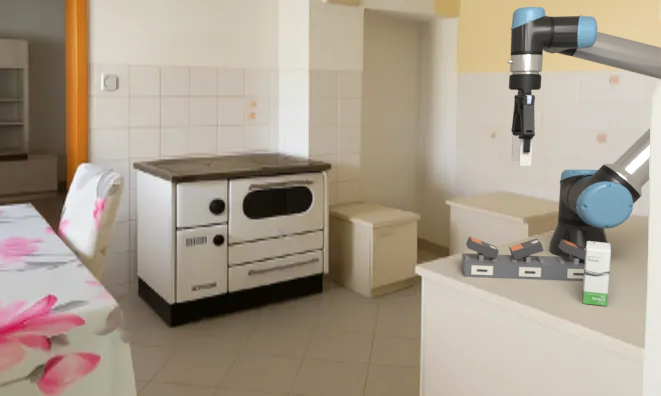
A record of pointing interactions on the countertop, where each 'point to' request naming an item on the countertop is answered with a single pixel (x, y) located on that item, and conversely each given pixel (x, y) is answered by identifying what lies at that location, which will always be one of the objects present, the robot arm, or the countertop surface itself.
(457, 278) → the countertop surface
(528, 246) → the rocker
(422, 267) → the countertop surface
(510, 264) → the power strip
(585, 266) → the ink box
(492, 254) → the rocker
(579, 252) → the rocker
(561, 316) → the countertop surface
